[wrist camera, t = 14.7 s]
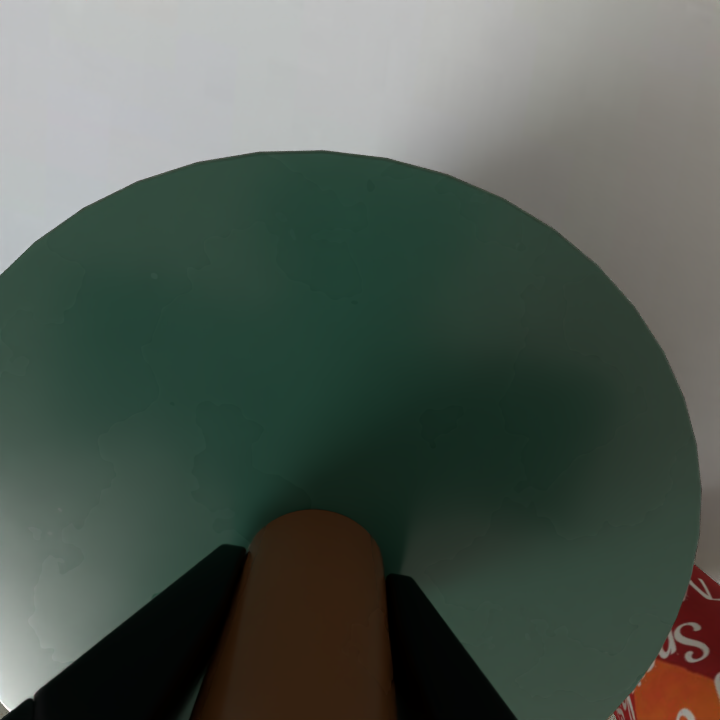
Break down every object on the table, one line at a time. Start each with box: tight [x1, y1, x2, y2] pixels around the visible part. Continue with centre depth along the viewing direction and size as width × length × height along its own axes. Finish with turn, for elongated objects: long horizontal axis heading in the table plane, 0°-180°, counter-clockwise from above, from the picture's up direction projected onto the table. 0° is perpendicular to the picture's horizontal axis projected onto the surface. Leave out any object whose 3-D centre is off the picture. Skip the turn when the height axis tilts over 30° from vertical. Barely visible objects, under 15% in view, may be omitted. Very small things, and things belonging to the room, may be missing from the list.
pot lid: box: [0, 150, 702, 720], centre depth 6 cm, size 13×13×5 cm
